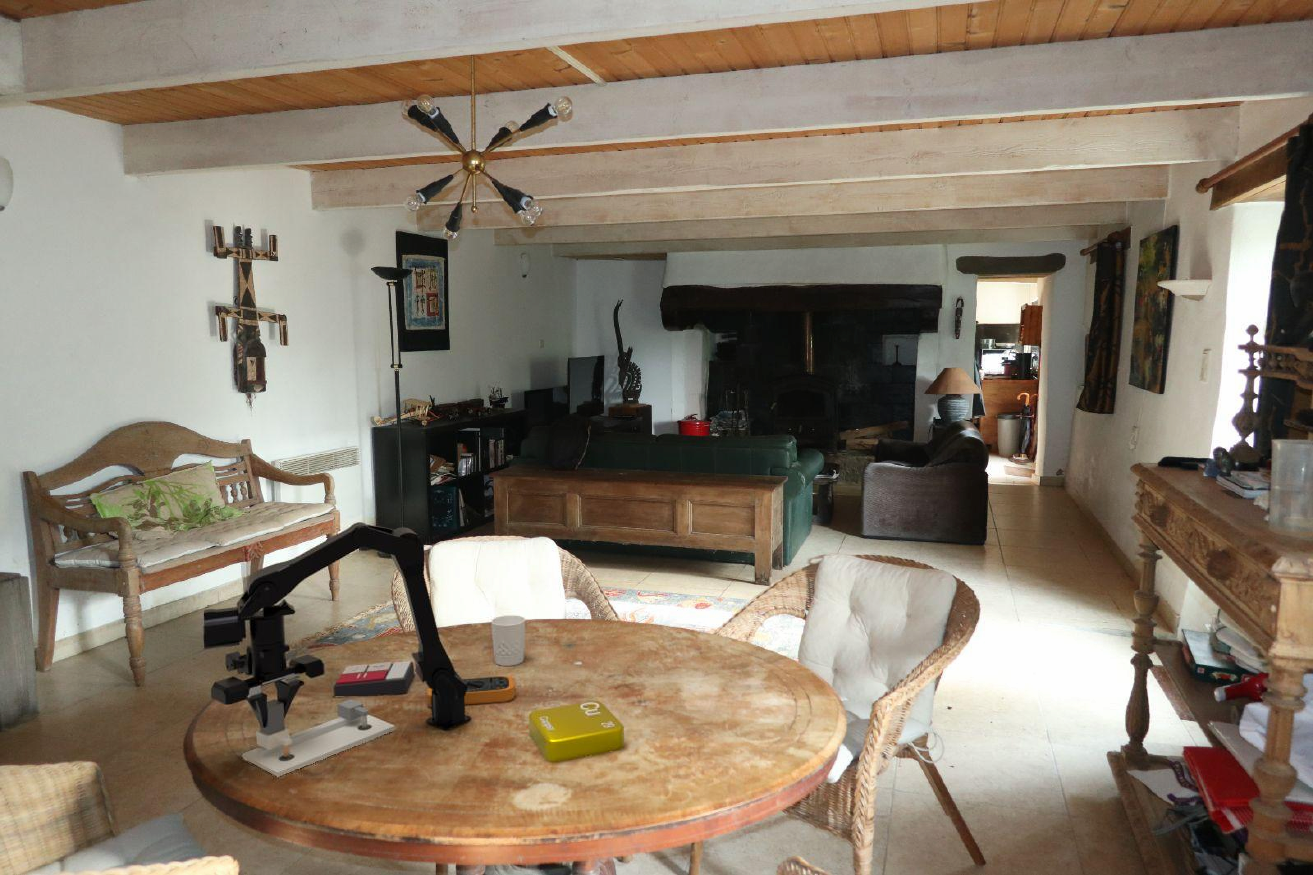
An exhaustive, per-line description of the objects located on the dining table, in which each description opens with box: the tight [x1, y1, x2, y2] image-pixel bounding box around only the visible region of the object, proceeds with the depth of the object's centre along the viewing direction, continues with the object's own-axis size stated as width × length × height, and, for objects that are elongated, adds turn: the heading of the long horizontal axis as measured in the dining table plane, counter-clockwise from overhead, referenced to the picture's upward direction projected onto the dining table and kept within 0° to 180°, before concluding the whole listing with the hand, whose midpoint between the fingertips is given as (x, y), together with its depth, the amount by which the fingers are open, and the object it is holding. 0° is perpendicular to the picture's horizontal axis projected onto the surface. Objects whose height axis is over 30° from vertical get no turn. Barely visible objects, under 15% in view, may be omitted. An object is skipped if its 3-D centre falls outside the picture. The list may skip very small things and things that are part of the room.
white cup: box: [490, 614, 526, 667], centre depth 210 cm, size 8×8×10 cm
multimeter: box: [426, 675, 516, 708], centre depth 188 cm, size 9×18×3 cm, turn 101°
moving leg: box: [255, 698, 292, 757], centre depth 160 cm, size 7×4×8 cm, turn 52°
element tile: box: [528, 700, 625, 763], centre depth 168 cm, size 15×15×5 cm
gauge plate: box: [241, 698, 396, 778], centre depth 166 cm, size 12×24×5 cm, turn 142°
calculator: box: [333, 660, 415, 697], centre depth 195 cm, size 11×4×15 cm
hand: (272, 724), depth 161 cm, fingers closed on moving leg, 3 cm apart
